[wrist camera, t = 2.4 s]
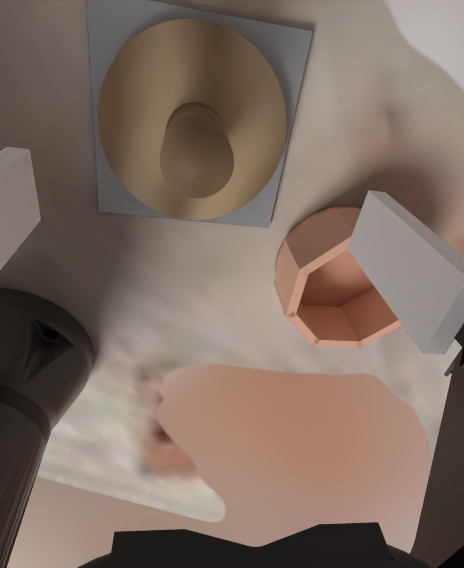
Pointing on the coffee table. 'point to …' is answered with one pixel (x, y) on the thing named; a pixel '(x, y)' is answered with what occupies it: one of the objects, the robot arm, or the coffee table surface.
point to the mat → (145, 13)
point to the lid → (192, 119)
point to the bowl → (329, 283)
